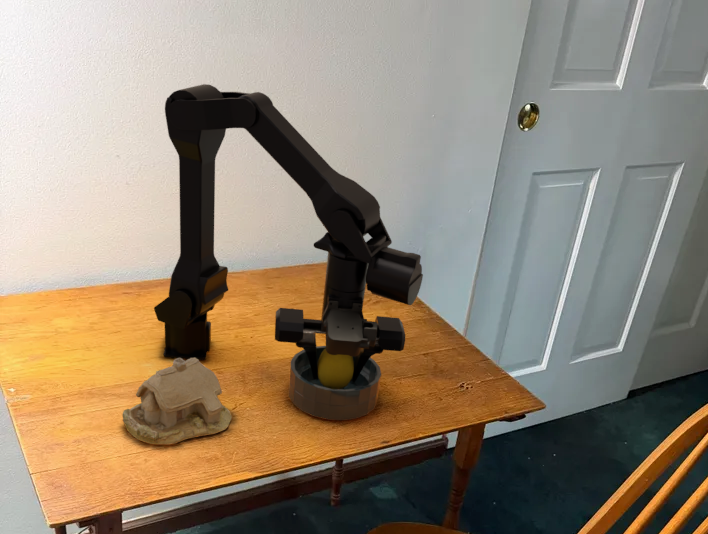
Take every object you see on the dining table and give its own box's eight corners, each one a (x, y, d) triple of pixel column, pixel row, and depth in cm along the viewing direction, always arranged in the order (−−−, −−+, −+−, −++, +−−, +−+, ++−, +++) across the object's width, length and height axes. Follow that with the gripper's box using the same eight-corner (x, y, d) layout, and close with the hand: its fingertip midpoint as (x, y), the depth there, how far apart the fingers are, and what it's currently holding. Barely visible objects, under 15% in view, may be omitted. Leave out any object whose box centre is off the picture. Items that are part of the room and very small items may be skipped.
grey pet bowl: (288, 420, 115) (291, 388, 112) (288, 373, 126) (290, 342, 122) (380, 425, 117) (385, 394, 114) (372, 378, 128) (376, 349, 125)
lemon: (345, 403, 118) (351, 357, 114) (310, 395, 119) (314, 348, 114) (354, 386, 123) (360, 340, 118) (320, 378, 123) (325, 332, 119)
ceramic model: (194, 390, 117) (193, 330, 112) (244, 423, 112) (246, 362, 107) (111, 422, 108) (106, 358, 102) (162, 460, 103) (159, 395, 97)
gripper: (278, 303, 102) (271, 404, 111) (417, 315, 106) (400, 412, 115) (278, 268, 111) (272, 365, 120) (407, 281, 115) (392, 373, 124)
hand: (334, 379), depth 120 cm, fingers closed on lemon, 5 cm apart
